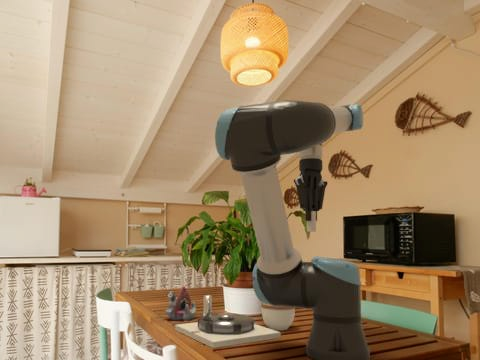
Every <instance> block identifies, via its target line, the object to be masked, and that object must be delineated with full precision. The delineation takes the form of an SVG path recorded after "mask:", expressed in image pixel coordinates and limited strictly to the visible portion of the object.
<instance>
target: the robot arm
mask: <svg viewBox="0 0 480 360" xmlns="http://www.w3.org/2000/svg"><path fill="white" fill-rule="evenodd" d="M363 126H364V115H363V108H362V106H361V105H360V104H358V103H356V104H347V105H331V106H330V105H329V106H328V105H327V104H324V103H321V102H318V101H317V102H314V101H304V100H292V99H291V100H288V99H287V100H278V101H272V102H263V103H256V104H248V105H238V106H236V107H230V108H228V109H226V110H225V109H224V111H222V113H221V114H220V115H219V117H218V118H217V123H216V126H215V131H214V142H215V148H216V152H217V154H218V156H219V157H220V158H222V159H223V160H226V161H228V160H229V161H230V164H231V165H230V166H231V168H232V171H233V172H235V173H237V174H239V175H240V178H241V182H242V187H243V190H244V194H245V198H246V199H245V200H246V201H247V202H246V203H247V207H248V210H249V213H250V219H251V222H252V226H253V231H254V233H255V237H256V243H257V246H258V251H259V254H260V255H259V257H258V258H257V261H256V262H255V264H254V267H253V270H252V279H253V281H252V288H253V292H254V293H255V296H256V298H257V299H258V300H259V302H260V303H264V304H268V305H273V306H286V307H295V308H299V309H300V308H301V309H311V310H312V325H311V327H310V332H309V336H308V340H307V341H306V344H305V347H306V349H305V353H306V356H307V357H309V358H311V359H313V360H370V359H371V355H370V352H371V351H370V347H369V344H368V343H367V340H366V334H365V331H364V329H363V325H362V303H361V301H362V300H361V299H362V297H361V296H362V295H361V293H362V290H361V289H362V287H361V285H362V281H361V272H360V268H359V265H357V264H356V263H354V262H351V261H348V260H343V259H341V258H340V259H339V258H332V257H325V256H313V257H312V259H311V261H303V259H302V255H301V253H300V251H299V250H298V249H296V248H294V244H293V239H292V236H291V230H290V226H289V220H288V218H287V212H286V208H285V207H286V206H285V203H284V198H283V197H284V196H283V193H282V188H281V184H280V179H279V175H278V169H277V165H278V164H279V163H280V161H281V160H282V157H281V156H282V155H291V154H295V153H298V155H299V156H298V158H299V159H300V160H299V162H298V168H299V172H300V173H299V176H298V178H297V177H296V178H295V179H293V182H294V185H295V187H296V192H297V193H296V194H297V198H298V203H299V208H300V209H301V210H302V211H303V212H305V215H304V216H305V221H306V232H309V233H310V232H311V233H315V232H317V221H318V212H319V211H320V210H323V205H324V199H325V193H326V188H327V186H328V181H327V180H326V181H324V179H323V177H322V171H323V160H322V159H323V144H324V143H326V142H327V141H328V140H330V138H332V136H334V135H337V134H341V133H343V132H353V131H357V130H362V128H363Z"/></svg>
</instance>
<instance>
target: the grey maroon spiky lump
mask: <svg viewBox="0 0 480 360" xmlns="http://www.w3.org/2000/svg"><path fill="white" fill-rule="evenodd" d="M167 298H168V299H169V302H168V308H169V309H164V310H163V312H164V313H165V314H166V315H167V316H168V317H169V318H170V319H171V321H183V322H186V321H191V320H193V319H195V318H196V316H197V314H198V311H197V308H196V303H195V302H194V301H193V302H192V300H191V296H190V295H189V292H188V291H187V288H186V287H185V285H182V287H181V288H180V291H179V293H178V295H177V297H176V296H175V291H169V293H168V294H167Z"/></svg>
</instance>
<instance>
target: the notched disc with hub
mask: <svg viewBox="0 0 480 360" xmlns="http://www.w3.org/2000/svg"><path fill="white" fill-rule="evenodd" d="M212 300H213V296H212V295H211V294H205V295H203V310H202V312H203V313H202V316H200V317H197V322H198V327H199V329H200V330H202V331H205V332H209V333H220V334H237V333H243V332H247V331H250V330H252V329H254V324H255V318H252V316H248V315H244V314H236V313H235V314H234V313H230V312H229V313H228V312H227V313H226V312H221V313H212V309H213V307H212V302H213V301H212Z"/></svg>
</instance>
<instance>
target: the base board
mask: <svg viewBox="0 0 480 360" xmlns="http://www.w3.org/2000/svg"><path fill="white" fill-rule="evenodd" d="M174 330H175V331H176V332H178V333H181V334H183V335H185V336H187V337H189V338H191V339H193V340H194V341H195V340H196V341H197V342H199V343H202V344H203V345H206V346H207V347H210V348H212V349H217V348H223V347H231V346H236V345H242V344H249V343H250V344H251V343H256V342H261V341H262V342H263V341H268V340H270V341H271V340H275V339H281V336H282V335H281V332H280V331H277V330H272V329H269V328H268V327H265V326H262V325H259V324H255V323H254V329H252V330H250V331H247V332H243V333H237V334H220V333H209V332H205V331H202V330H200V329H199V327H198V321H197V322H195V321H194V322H188V323H178V324H174Z"/></svg>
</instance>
